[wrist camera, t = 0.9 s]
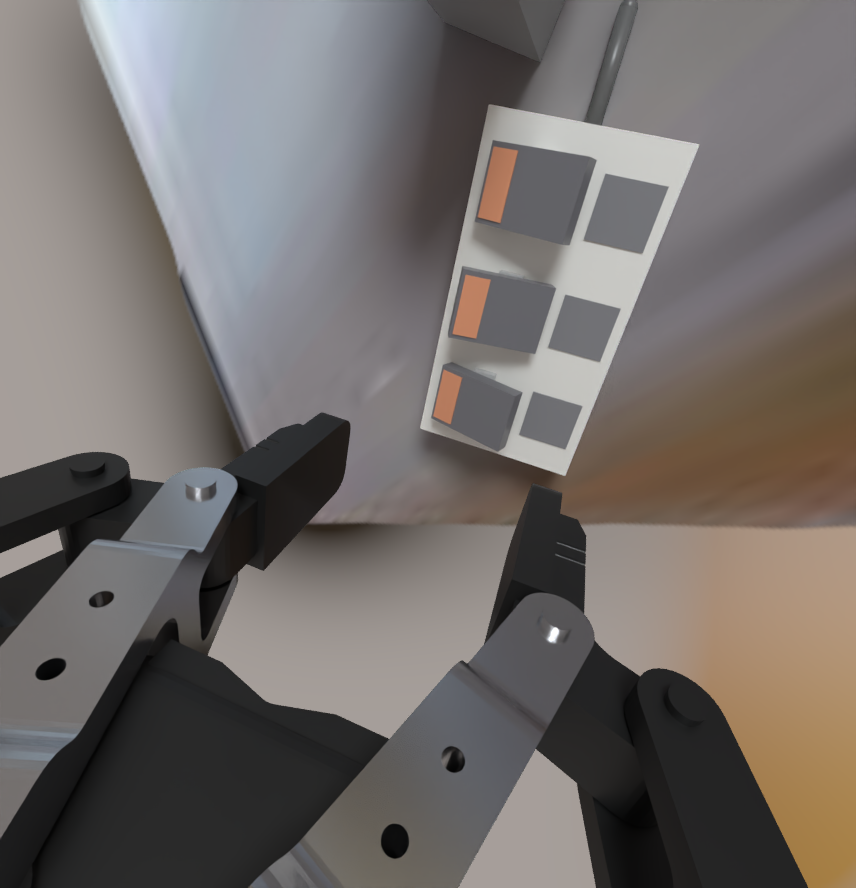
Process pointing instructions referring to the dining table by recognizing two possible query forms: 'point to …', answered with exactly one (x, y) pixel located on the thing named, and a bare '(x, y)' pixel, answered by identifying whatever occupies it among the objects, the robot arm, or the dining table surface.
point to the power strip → (568, 267)
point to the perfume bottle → (505, 21)
